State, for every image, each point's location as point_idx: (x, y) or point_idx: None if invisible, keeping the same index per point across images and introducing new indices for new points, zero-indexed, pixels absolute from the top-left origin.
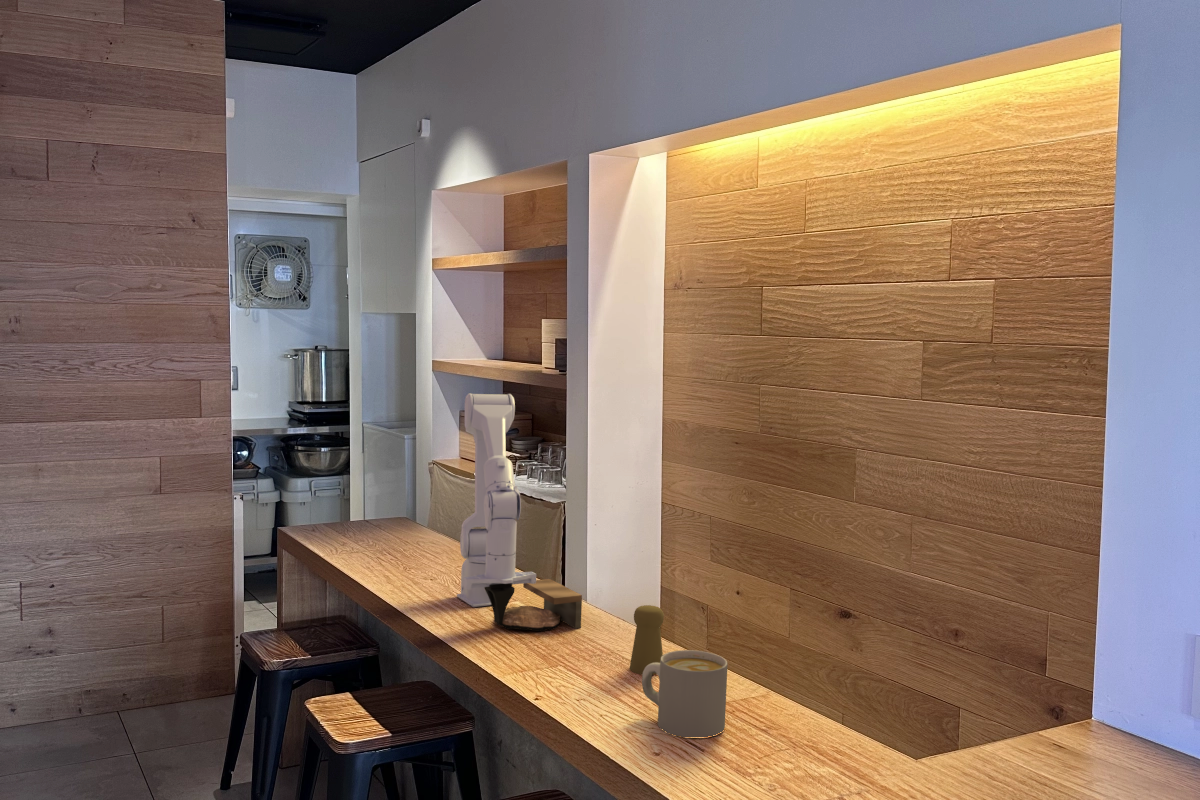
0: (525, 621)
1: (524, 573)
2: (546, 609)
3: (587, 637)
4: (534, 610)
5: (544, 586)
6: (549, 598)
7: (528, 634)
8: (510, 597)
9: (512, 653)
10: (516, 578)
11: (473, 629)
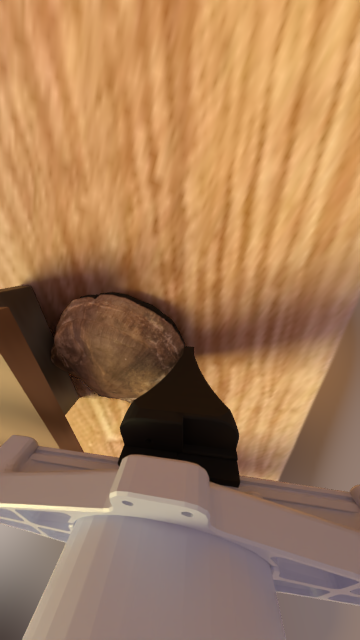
0: (134, 317)
1: (17, 521)
2: (62, 349)
3: (2, 203)
4: (93, 350)
5: (23, 431)
6: (14, 348)
7: (142, 288)
8: (153, 389)
9: (266, 103)
10: (75, 495)
11: (237, 363)
